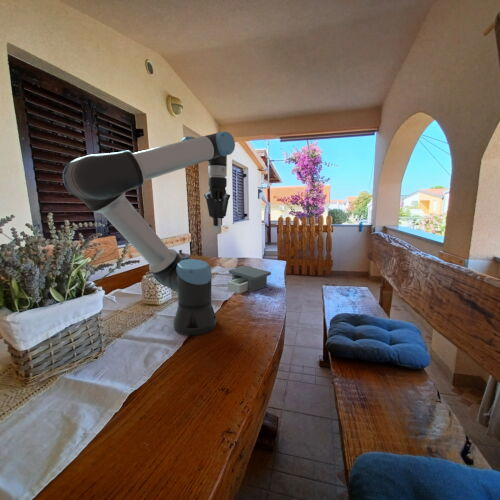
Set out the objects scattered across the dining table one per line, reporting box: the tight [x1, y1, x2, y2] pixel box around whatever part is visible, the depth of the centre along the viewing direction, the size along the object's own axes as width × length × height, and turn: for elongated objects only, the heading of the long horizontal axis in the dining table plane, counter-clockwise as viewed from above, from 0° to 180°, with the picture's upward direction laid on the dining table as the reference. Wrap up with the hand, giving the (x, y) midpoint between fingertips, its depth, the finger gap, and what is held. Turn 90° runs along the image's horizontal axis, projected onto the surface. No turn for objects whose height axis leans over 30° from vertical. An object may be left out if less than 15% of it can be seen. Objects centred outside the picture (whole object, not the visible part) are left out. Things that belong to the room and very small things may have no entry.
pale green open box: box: [227, 277, 249, 295], centre depth 131 cm, size 16×8×4 cm, turn 139°
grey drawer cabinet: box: [228, 265, 272, 293], centre depth 134 cm, size 13×18×8 cm
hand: (217, 233), depth 110 cm, fingers closed
